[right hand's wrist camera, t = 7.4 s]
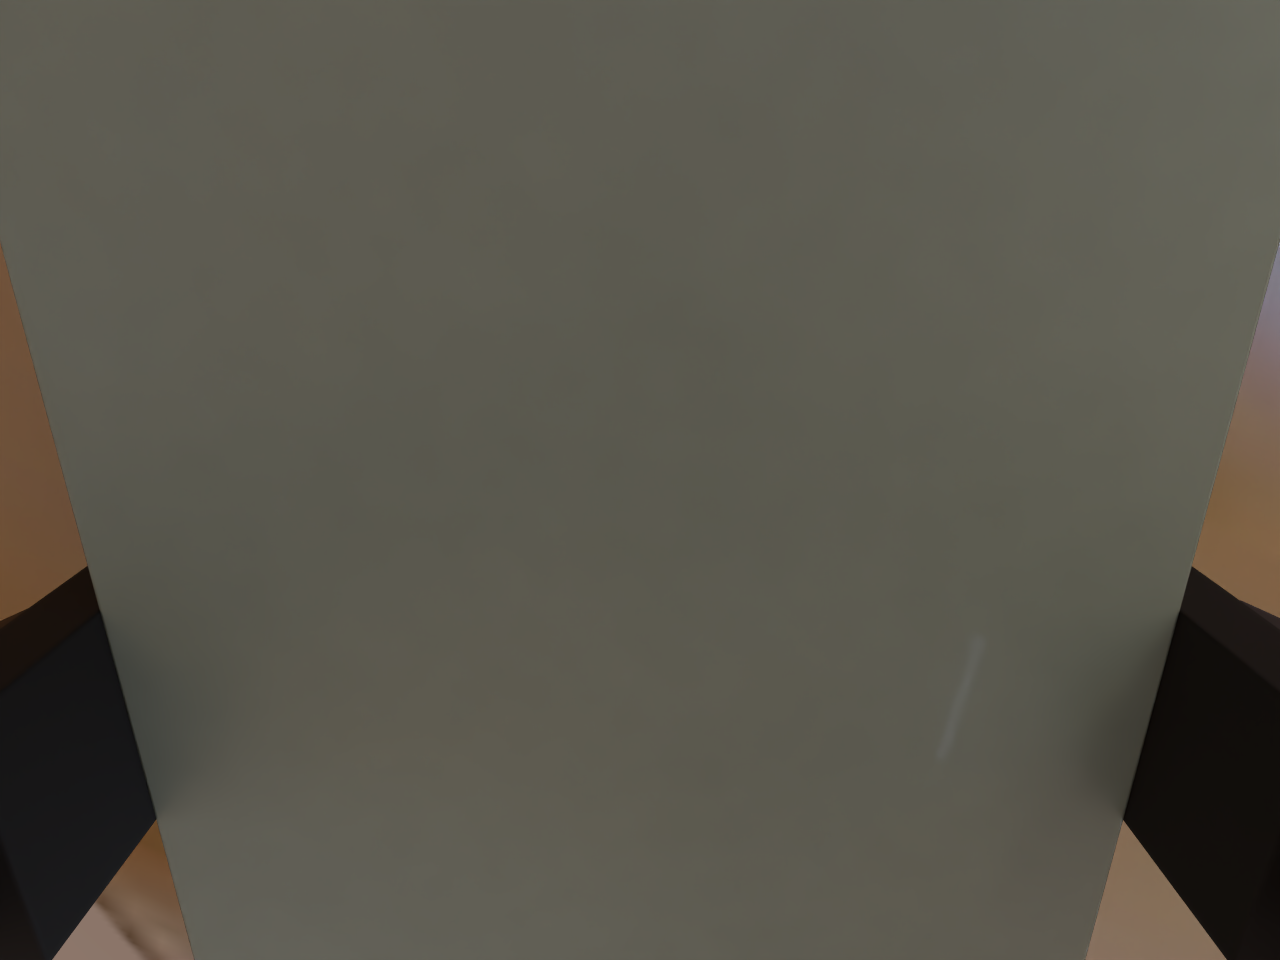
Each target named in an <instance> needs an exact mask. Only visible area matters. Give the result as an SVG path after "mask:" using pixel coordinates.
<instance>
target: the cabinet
mask: <svg viewBox="0 0 1280 960" xmlns="http://www.w3.org/2000/svg"><path fill="white" fill-rule="evenodd" d="M1279 242H1280V0H0V243H1V247H2V250H3V254H4V258H5V261H6V265H7V269H8V273H9V276H10V280H11V284H12V287H13V291H14V295H15V298H16V302H17V306H18V309H19V313H20V317H21V321H22V324H23V328H24V332H25V335H26V339H27V343H28V346H29V350H30V354H31V358H32V361H33V365H34V369H35V372H36V376H37V380H38V383H39V387H40V391H41V395H42V398H43V402H44V406H45V409H46V413H47V417H48V420H49V424H50V428H51V431H52V435H53V439H54V443H55V446H56V450H57V454H58V457H59V461H60V465H61V468H62V472H63V476H64V480H65V483H66V487H67V491H68V494H69V498H70V502H71V505H72V509H73V513H74V517H75V520H76V524H77V528H78V531H79V535H80V539H81V542H82V546H83V550H84V553H85V557H86V561H87V565H88V568H89V572H90V576H91V579H92V583H93V587H94V590H95V594H96V598H97V602H98V605H99V609H100V613H101V616H102V620H103V624H104V627H105V631H106V635H107V639H108V642H109V646H110V650H111V653H112V657H113V661H114V664H115V668H116V672H117V675H118V679H119V683H120V687H121V690H122V694H123V698H124V701H125V705H126V709H127V712H128V716H129V720H130V724H131V727H132V731H133V735H134V738H135V742H136V746H137V749H138V753H139V757H140V761H141V764H142V768H143V772H144V775H145V779H146V783H147V786H148V790H149V794H150V797H151V801H152V805H153V809H154V812H155V816H156V820H157V823H158V827H159V831H160V834H161V838H162V842H163V846H164V849H165V853H166V857H167V860H168V864H169V868H170V871H171V875H172V879H173V883H174V886H175V890H176V894H177V897H178V901H179V905H180V908H181V912H182V916H183V919H184V923H185V927H186V931H187V934H188V938H189V942H190V945H191V949H192V953H193V956H194V960H1085V958H1086V955H1087V951H1088V947H1089V943H1090V940H1091V936H1092V932H1093V929H1094V925H1095V921H1096V918H1097V914H1098V910H1099V907H1100V903H1101V899H1102V895H1103V892H1104V888H1105V884H1106V881H1107V877H1108V873H1109V870H1110V866H1111V862H1112V859H1113V855H1114V851H1115V847H1116V844H1117V840H1118V836H1119V833H1120V829H1121V825H1122V822H1123V818H1124V814H1125V811H1126V807H1127V803H1128V799H1129V796H1130V792H1131V788H1132V785H1133V781H1134V777H1135V774H1136V770H1137V766H1138V762H1139V759H1140V755H1141V751H1142V748H1143V744H1144V740H1145V737H1146V733H1147V729H1148V726H1149V722H1150V718H1151V714H1152V711H1153V707H1154V703H1155V700H1156V696H1157V692H1158V689H1159V685H1160V681H1161V678H1162V674H1163V670H1164V666H1165V663H1166V659H1167V655H1168V652H1169V648H1170V644H1171V641H1172V637H1173V633H1174V630H1175V626H1176V622H1177V618H1178V615H1179V611H1180V607H1181V604H1182V600H1183V596H1184V593H1185V589H1186V585H1187V581H1188V578H1189V574H1190V570H1191V567H1192V563H1193V559H1194V556H1195V552H1196V548H1197V545H1198V541H1199V537H1200V533H1201V530H1202V526H1203V522H1204V519H1205V515H1206V511H1207V508H1208V504H1209V500H1210V497H1211V493H1212V489H1213V485H1214V482H1215V478H1216V474H1217V471H1218V467H1219V463H1220V460H1221V456H1222V452H1223V449H1224V445H1225V441H1226V437H1227V434H1228V430H1229V426H1230V423H1231V419H1232V415H1233V412H1234V408H1235V404H1236V400H1237V397H1238V393H1239V389H1240V386H1241V382H1242V378H1243V375H1244V371H1245V367H1246V364H1247V360H1248V356H1249V352H1250V349H1251V345H1252V341H1253V338H1254V334H1255V330H1256V327H1257V323H1258V319H1259V316H1260V312H1261V308H1262V304H1263V301H1264V297H1265V293H1266V290H1267V286H1268V282H1269V279H1270V275H1271V271H1272V267H1273V264H1274V260H1275V256H1276V253H1277V249H1278V245H1279Z"/></svg>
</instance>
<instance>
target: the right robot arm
mask: <svg viewBox="0 0 1280 960" xmlns="http://www.w3.org/2000/svg"><path fill="white" fill-rule="evenodd" d="M155 820H156V816H155V812H154V809H153V805H152V801H151V797H150V794H149V790H148V786H147V783H146V779H145V775H144V772H143V768H142V764H141V761H140V757H139V753H138V749H137V746H136V742H135V738H134V735H133V731H132V727H131V724H130V720H129V716H128V712H127V709H126V705H125V701H124V698H123V694H122V690H121V687H120V683H119V679H118V675H117V672H116V668H115V664H114V661H113V657H112V653H111V650H110V646H109V642H108V639H107V635H106V631H105V627H104V624H103V620H102V616H101V613H100V609H99V605H98V602H97V598H96V594H95V590H94V587H93V583H92V579H91V576H90V572H89V568H88V566H87V567H85V568H84V569H83V570H81V571H80V572H78V573H77V574H76V575H74V576H73V577H72V578H70V579H69V580H67V581H66V582H65V583H63V584H62V585H60V586H59V587H58V588H56V589H55V590H53V591H52V592H51V593H49V594H48V595H47V596H45V597H44V598H42V599H41V600H40V601H38V602H37V603H35V604H34V605H33V606H31V607H30V608H28V609H26V610H24V611H22V612H19V613H17V614H15V615H13V616H11V617H8V618H6V619H4V620H2V621H0V960H52V959H53V958H54V956H55V955H56V954H57V952H58V951H59V950H60V948H61V947H62V946H63V944H64V943H65V941H66V940H67V939H68V938H69V936H70V935H71V933H72V932H73V931H74V929H75V928H76V927H77V925H78V924H79V923H80V921H81V920H82V919H83V917H84V916H85V915H86V913H87V912H88V911H89V909H90V908H91V907H92V905H93V904H94V903H95V901H96V900H97V898H98V897H99V896H100V894H101V893H102V892H103V890H104V889H105V888H106V886H107V885H108V884H109V882H110V881H111V880H112V878H113V877H114V876H115V874H116V873H117V872H118V870H119V869H120V867H121V866H122V865H123V863H124V862H125V861H126V859H127V858H128V857H129V855H130V854H131V853H132V851H133V850H134V849H135V847H136V846H137V845H138V843H139V842H140V841H141V839H142V838H143V837H144V835H145V834H146V832H147V831H148V830H149V828H150V827H151V826H152V824H153V823H154V822H155ZM1123 820H1124V822H1125V823H1126V824H1127V826H1128V827H1129V828H1130V830H1131V831H1132V832H1133V834H1134V835H1135V836H1136V838H1137V839H1138V840H1139V842H1140V843H1141V844H1142V846H1143V847H1144V848H1145V850H1146V851H1147V853H1148V854H1149V855H1150V857H1151V858H1152V859H1153V861H1154V862H1155V863H1156V865H1157V866H1158V867H1159V869H1160V870H1161V871H1162V873H1163V874H1164V875H1165V877H1166V878H1167V879H1168V881H1169V882H1170V884H1171V885H1172V886H1173V888H1174V889H1175V890H1176V892H1177V893H1178V894H1179V896H1180V897H1181V898H1182V900H1183V901H1184V902H1185V904H1186V905H1187V906H1188V908H1189V909H1190V910H1191V912H1192V913H1193V915H1194V916H1195V917H1196V919H1197V920H1198V921H1199V923H1200V924H1201V925H1202V927H1203V928H1204V929H1205V931H1206V932H1207V933H1208V935H1209V936H1210V937H1211V939H1212V940H1213V941H1214V943H1215V944H1216V946H1217V947H1218V948H1219V950H1220V951H1221V952H1222V954H1223V955H1224V956H1225V958H1226V959H1227V960H1280V618H1278V617H1276V616H1274V615H1272V614H1270V613H1267V612H1265V611H1263V610H1261V609H1259V608H1256V607H1254V606H1252V605H1250V604H1248V603H1245V602H1243V601H1239V600H1238V599H1237V598H1235V597H1234V596H1233V595H1231V594H1230V593H1228V592H1227V591H1226V590H1224V589H1223V588H1221V587H1220V586H1219V585H1217V584H1216V583H1214V582H1213V581H1212V580H1210V579H1209V578H1208V577H1206V576H1205V575H1203V574H1202V573H1201V572H1199V571H1198V570H1196V569H1195V568H1194V567H1191V570H1190V574H1189V578H1188V581H1187V585H1186V589H1185V593H1184V596H1183V600H1182V604H1181V607H1180V611H1179V615H1178V618H1177V622H1176V626H1175V630H1174V633H1173V637H1172V641H1171V644H1170V648H1169V652H1168V655H1167V659H1166V663H1165V666H1164V670H1163V674H1162V678H1161V681H1160V685H1159V689H1158V692H1157V696H1156V700H1155V703H1154V707H1153V711H1152V714H1151V718H1150V722H1149V726H1148V729H1147V733H1146V737H1145V740H1144V744H1143V748H1142V751H1141V755H1140V759H1139V762H1138V766H1137V770H1136V774H1135V777H1134V781H1133V785H1132V788H1131V792H1130V796H1129V799H1128V803H1127V807H1126V811H1125V814H1124V818H1123Z"/></svg>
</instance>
